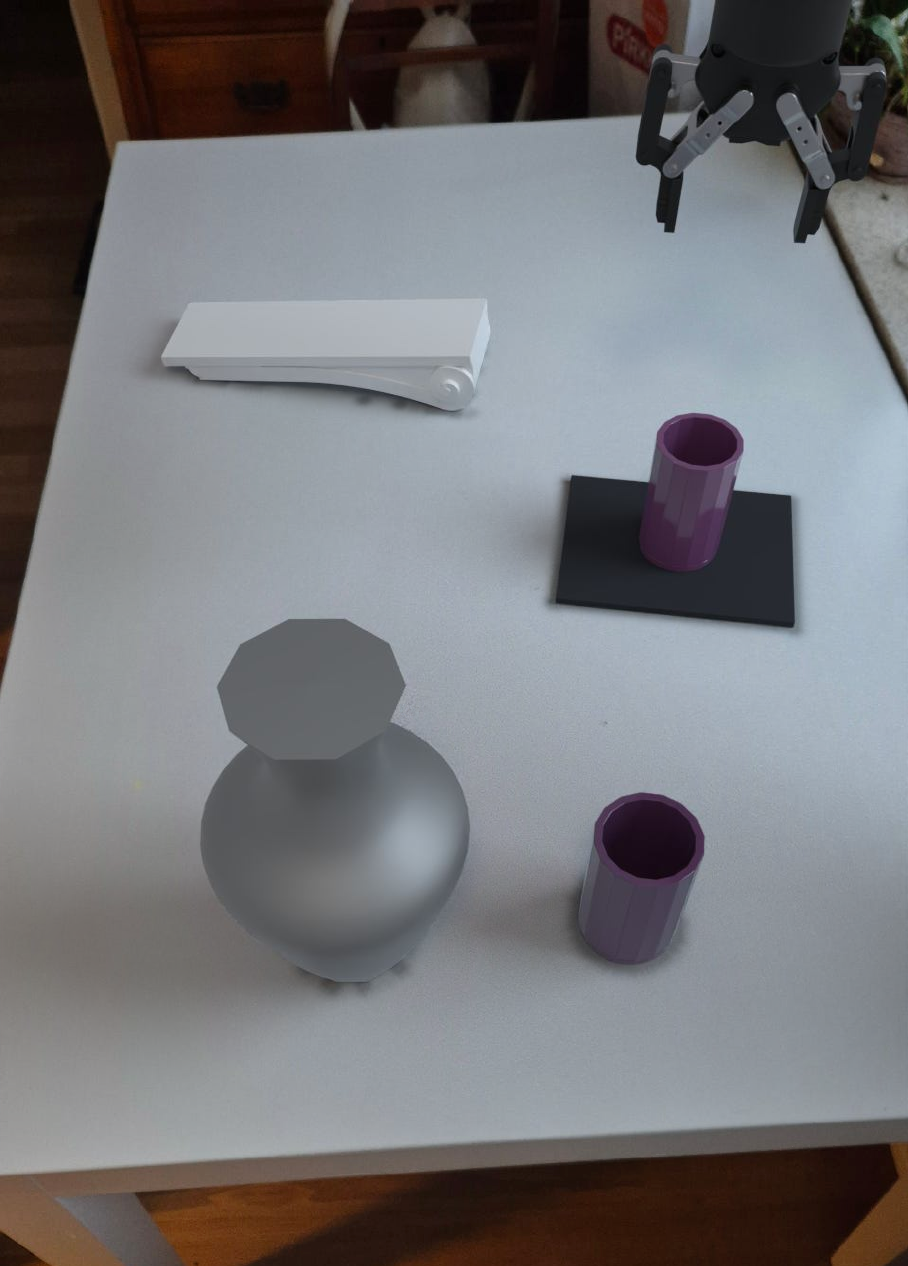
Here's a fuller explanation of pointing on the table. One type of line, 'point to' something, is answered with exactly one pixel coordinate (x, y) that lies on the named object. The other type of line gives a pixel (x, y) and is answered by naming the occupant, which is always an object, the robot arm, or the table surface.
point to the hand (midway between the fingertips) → (734, 231)
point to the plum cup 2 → (639, 876)
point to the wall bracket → (340, 344)
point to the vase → (330, 804)
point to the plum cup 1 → (689, 491)
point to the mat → (625, 580)
